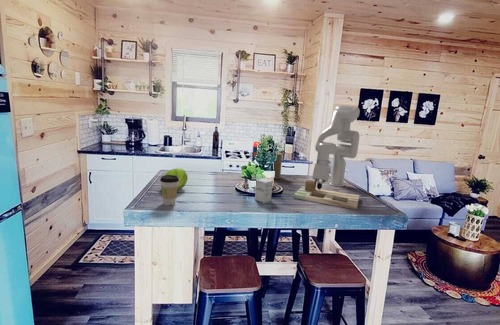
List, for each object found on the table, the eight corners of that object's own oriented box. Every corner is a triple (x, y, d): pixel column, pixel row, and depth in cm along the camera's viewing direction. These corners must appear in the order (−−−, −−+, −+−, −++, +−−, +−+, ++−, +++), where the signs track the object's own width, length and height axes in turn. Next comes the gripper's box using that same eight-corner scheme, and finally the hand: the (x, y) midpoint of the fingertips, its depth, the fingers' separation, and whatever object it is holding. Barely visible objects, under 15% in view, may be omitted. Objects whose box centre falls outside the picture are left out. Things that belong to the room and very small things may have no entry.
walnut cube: (306, 188, 207) (307, 179, 205) (315, 189, 205) (316, 181, 203) (304, 190, 201) (305, 181, 200) (313, 191, 199) (314, 182, 198)
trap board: (302, 189, 213) (302, 185, 212) (358, 198, 199) (359, 195, 198) (293, 198, 191) (294, 194, 190) (356, 209, 177) (357, 205, 176)
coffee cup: (163, 199, 170) (163, 174, 167) (180, 201, 170) (181, 175, 167) (157, 205, 160) (157, 178, 158) (175, 207, 160) (176, 179, 157)
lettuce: (161, 194, 179) (162, 172, 177) (163, 185, 199) (163, 165, 196) (188, 194, 183) (188, 172, 181) (186, 185, 202) (187, 165, 200)
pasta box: (251, 176, 239) (254, 141, 234) (261, 177, 239) (264, 142, 234) (250, 185, 212) (253, 146, 206) (261, 186, 212) (264, 147, 206)
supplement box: (254, 200, 181) (255, 179, 179) (261, 197, 187) (263, 178, 184) (263, 203, 177) (265, 182, 174) (271, 200, 182) (273, 180, 180)
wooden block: (279, 179, 235) (281, 154, 232) (266, 178, 237) (268, 153, 233) (280, 176, 245) (282, 152, 241) (268, 175, 247) (270, 151, 243)
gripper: (334, 163, 199) (331, 189, 202) (312, 159, 204) (309, 186, 207) (333, 164, 192) (329, 192, 195) (310, 161, 197) (307, 188, 201)
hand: (319, 189), depth 201 cm, fingers closed
